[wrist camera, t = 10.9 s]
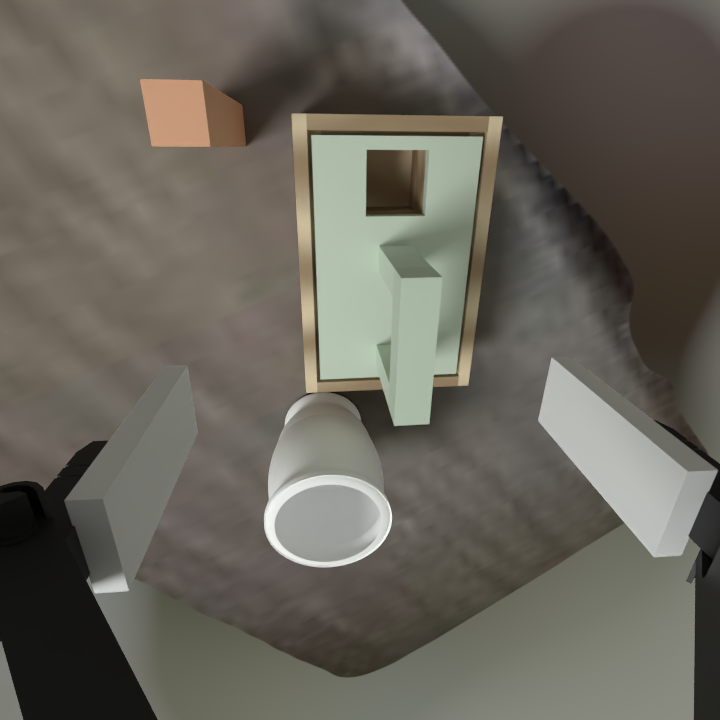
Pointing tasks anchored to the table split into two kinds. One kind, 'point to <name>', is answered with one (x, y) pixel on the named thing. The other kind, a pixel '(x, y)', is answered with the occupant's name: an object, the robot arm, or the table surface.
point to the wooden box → (389, 197)
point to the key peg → (191, 114)
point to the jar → (325, 486)
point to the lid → (393, 267)
